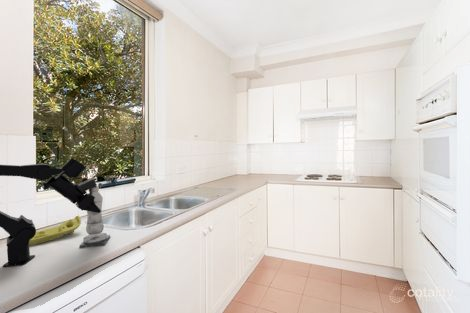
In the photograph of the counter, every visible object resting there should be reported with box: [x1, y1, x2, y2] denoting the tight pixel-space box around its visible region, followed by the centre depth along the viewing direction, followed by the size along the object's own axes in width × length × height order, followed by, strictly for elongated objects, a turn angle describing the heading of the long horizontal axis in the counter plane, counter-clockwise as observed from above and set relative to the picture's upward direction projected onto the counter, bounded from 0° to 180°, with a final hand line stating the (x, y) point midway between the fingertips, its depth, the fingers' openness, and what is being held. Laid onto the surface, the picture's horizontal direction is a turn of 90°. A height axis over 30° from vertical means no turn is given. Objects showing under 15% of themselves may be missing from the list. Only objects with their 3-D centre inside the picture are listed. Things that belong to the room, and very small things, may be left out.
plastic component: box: [29, 215, 82, 246], centre depth 109 cm, size 20×7×10 cm
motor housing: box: [79, 232, 111, 249], centre depth 101 cm, size 9×9×2 cm
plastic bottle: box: [85, 185, 105, 235], centre depth 101 cm, size 6×7×20 cm
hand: (98, 210), depth 102 cm, fingers closed on plastic bottle, 6 cm apart
